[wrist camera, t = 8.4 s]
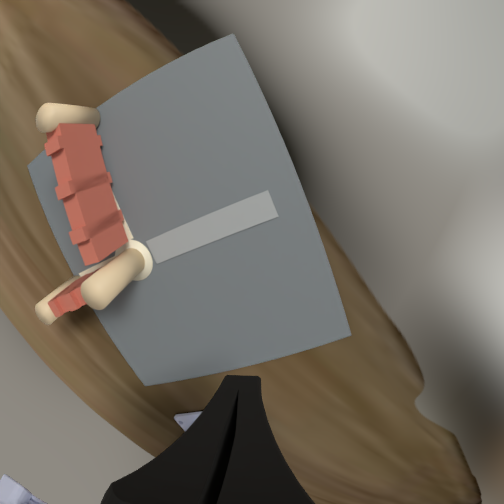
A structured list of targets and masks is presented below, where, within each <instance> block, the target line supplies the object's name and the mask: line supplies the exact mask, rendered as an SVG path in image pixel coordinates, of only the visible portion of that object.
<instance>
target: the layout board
mask: <svg viewBox="0 0 504 504" xmlns="http://www.w3.org/2000/svg"><path fill="white" fill-rule="evenodd" d="M96 109H97V110H98V111H99V113H100V122H99V125H98V126H97V128H96V132H97V135H100V136H101V140H102V144H103V146H100V149H101V153H102V157H103V160H104V164H105V168H106V171H107V172H110V175H111V178H112V183H110V186H111V189H112V192H113V196H114V199H115V202H116V205H117V208H118V210H120V209H121V211H122V214H123V218H124V220H123V221H122V224H123V227H124V230H125V233H126V236H127V238H128V242H127V243H125V244H124V245H122V246H121V247H120V248H118V249H117V250H115V251H114V252H112V253H111V254H110V255H108V256H107V257H105V258H104V259H103V260H101V261H100V262H97V263H94V264H90V265H86V266H85V264H84V261H83V258H82V256H81V253H80V251H79V248H78V245H77V244H74V245H73V244H72V241H71V238H70V235H69V232H70V231H72V228H71V225H70V222H69V219H68V216H67V213H66V210H65V206H64V203H63V200H62V199H61V200H58V198H57V194H56V191H55V187H57V186H58V182H57V178H56V174H55V170H54V166H53V162H52V158H51V156H47V155H46V150H44V151H43V152H42V153H41V154H39V155H38V156H37V157H36V158H35V159H34V160H33V161H32V162H31V163H30V164H29V165H28V169H29V172H30V175H31V178H32V181H33V184H34V187H35V189H36V192H37V195H38V197H39V200H40V202H41V205H42V208H43V210H44V212H45V215H46V217H47V220H48V222H49V224H50V227H51V229H52V231H53V233H54V236H55V238H56V240H57V242H58V244H59V246H60V249H61V251H62V253H63V255H64V257H65V259H66V261H67V263H68V265H69V267H70V269H71V271H72V273H73V275H74V276H75V275H78V276H80V277H82V276H84V275H86V274H89V273H91V272H94V271H95V270H97V269H98V268H100V267H103V266H104V265H106V264H107V263H108V262H110V261H111V260H112V259H114V258H115V257H116V256H118V255H119V254H120V253H122V252H123V251H124V250H126V249H128V248H134V249H137V250H138V251H139V252H141V254H142V255H143V257H144V260H145V267H144V269H143V270H142V271H141V272H140V273H139V274H138V275H137V276H136V277H135V278H134V279H133V280H132V281H131V282H130V283H129V284H128V285H127V286H126V287H125V288H124V289H123V290H122V291H121V292H120V293H119V294H118V295H117V296H116V297H115V298H114V299H113V300H112V301H111V302H110V303H109V304H108V305H107V306H106V307H105V308H104V309H102V310H96V309H93V308H92V309H93V310H94V312H95V314H96V315H97V317H98V318H99V320H100V322H101V323H102V325H103V327H104V328H105V330H106V331H107V333H108V334H109V336H110V337H111V339H112V340H113V342H114V343H115V345H116V346H117V348H118V349H119V351H120V352H121V354H122V355H123V357H124V358H125V359H126V361H127V362H128V364H129V365H130V366H131V368H132V369H133V371H134V372H135V373H136V375H137V376H138V377H139V379H140V380H141V381H142V383H143V384H144V385H145V386H149V385H156V384H162V383H168V382H174V381H180V380H185V379H190V378H196V377H201V376H206V375H210V374H215V373H220V372H224V371H229V370H233V369H237V368H242V367H246V366H250V365H254V364H258V363H262V362H266V361H269V360H273V359H277V358H280V357H284V356H287V355H291V354H294V353H298V352H301V351H305V350H308V349H311V348H314V347H318V346H321V345H324V344H327V343H330V342H333V341H336V340H339V339H342V338H345V337H348V336H351V332H350V329H349V325H348V322H347V318H346V315H345V312H344V308H343V305H342V302H341V298H340V295H339V292H338V289H337V286H336V282H335V279H334V276H333V273H332V270H331V267H330V264H329V261H328V258H327V255H326V252H325V249H324V246H323V243H322V241H321V238H320V235H319V232H318V229H317V226H316V224H315V221H314V218H313V215H312V213H311V210H310V207H309V204H308V202H307V199H306V196H305V194H304V191H303V189H302V186H301V184H300V181H299V178H298V176H297V173H296V171H295V168H294V166H293V163H292V161H291V158H290V156H289V154H288V151H287V148H286V146H285V144H284V141H283V139H282V136H281V134H280V132H279V129H278V127H277V125H276V123H275V120H274V118H273V116H272V113H271V111H270V109H269V107H268V104H267V102H266V100H265V98H264V95H263V93H262V91H261V89H260V87H259V85H258V82H257V80H256V79H255V76H254V74H253V72H252V70H251V68H250V66H249V64H248V61H247V59H246V57H245V55H244V53H243V51H242V49H241V47H240V45H239V43H238V41H237V40H236V37H235V36H234V34H231V35H228V36H226V37H223V38H221V39H219V40H217V41H214V42H212V43H209V44H207V45H205V46H203V47H200V48H198V49H196V50H194V51H192V52H190V53H188V54H186V55H184V56H182V57H180V58H178V59H176V60H174V61H172V62H170V63H168V64H166V65H165V66H163V67H161V68H159V69H157V70H155V71H154V72H152V73H150V74H148V75H147V76H145V77H143V78H142V79H140V80H138V81H137V82H135V83H133V84H132V85H130V86H129V87H127V88H125V89H124V90H122V91H121V92H119V93H118V94H116V95H115V96H113V97H112V98H110V99H109V100H107V101H106V102H104V103H103V104H102V105H100V106H99V107H97V108H96Z"/></svg>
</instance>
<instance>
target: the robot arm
mask: <svg viewBox="0 0 504 504" xmlns="http://www.w3.org/2000/svg"><path fill="white" fill-rule="evenodd" d="M174 419H175V421H176V422H177V423H178V424H179V425H180V426H181V427H182V428H183V430H184V431H185V432H184V433H183V434H182V435H181V436H180V437H179V438H178V439H177V440H176V441H175V442H174V443H173V444H172V445H171V446H169V447H168V448H167V449H166V450H165V451H164V452H162V453H161V454H160V455H158V456H157V457H156V458H154V459H153V460H152V461H150V462H149V463H147V464H146V465H144V466H142V467H141V468H139V469H138V470H136V471H134V472H133V473H131V474H129V475H127V476H125V477H123V478H121V479H119V480H117V481H115V482H113V483H111V485H110V486H109V488H108V490H107V491H106V493H105V495H104V497H103V499H102V501H101V504H315V503H314V502H313V500H312V499H311V498H310V497H309V495H308V494H307V493H306V492H305V490H304V489H303V488H302V486H301V485H300V483H299V482H298V480H297V479H296V477H295V476H294V474H293V472H292V471H291V469H290V468H289V466H288V464H287V463H286V461H285V459H284V457H283V455H282V453H281V451H280V449H279V447H278V445H277V443H276V441H275V438H274V436H273V433H272V431H271V428H270V425H269V423H268V420H267V416H266V413H265V409H264V406H263V401H262V396H261V378H260V377H258V376H238V375H227V376H225V378H224V379H223V381H222V383H221V385H220V387H219V388H218V390H217V391H216V393H215V395H214V396H213V398H212V399H211V400H210V402H209V403H208V405H207V406H206V407H205V409H204V410H203V411H200V412H192V413H184V414H176V415H175V416H174ZM0 504H47V503H45V502H44V501H42V500H40V499H39V498H37V497H35V496H34V495H32V494H31V493H30V492H29V491H28V490H27V489H26V488H25V487H23V486H22V485H21V484H19V483H18V482H16V481H15V480H14V479H12V478H11V477H9V476H8V475H6V474H4V475H3V477H2V478H1V480H0Z"/></svg>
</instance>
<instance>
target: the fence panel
mask: <svg viewBox="0 0 504 504" xmlns="http://www.w3.org/2000/svg"><path fill="white" fill-rule="evenodd" d="M99 122H100V113H99V111H98V110H97V109H96V108H91V107H83V106H75V105H66V104H56V103H45V104H44V105H42V106H41V107H40V109H39V111H38V113H37V116H36V126H37V129H38V130H39V131H40V132H46V134H47V139H48V142H47V143H45V144H44V145H45V150H46V155H47V156H51V158H52V162H53V166H54V170H55V174H56V178H57V182H58V186H57V187H55V191H56V194H57V198H58V200H61V199H62V200H63V203H64V206H65V210H66V213H67V216H68V219H69V222H70V225H71V228H72V231H70V232H69V235H70V238H71V241H72V244H73V245H74V244H77V245H78V248H79V251H80V253H81V256H82V258H83V261H84V264H85V266H86V265H90V264H94V263H97V262H100V261H101V260H103V259H104V258H105V257H107V256H108V255H110V254H111V253H112V252H114V251H115V250H117V249H118V248H120V247H121V246H122V245H124V244H125V243H127V242H128V238H127V236H126V233H125V230H124V227H123V224H122V221H123V220H124V218H123V214H122V211H121V209H120V210H118V208H117V205H116V202H115V199H114V196H113V192H112V189H111V186H110V183H112V178H111V175H110V172H107V171H106V168H105V164H104V160H103V157H102V153H101V149H100V146H103V144H102V140H101V136H100V135H97V132H96V128H97V126H98V125H99Z"/></svg>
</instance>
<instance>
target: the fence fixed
mask: <svg viewBox="0 0 504 504" xmlns="http://www.w3.org/2000/svg"><path fill="white" fill-rule="evenodd" d="M144 267H145V260H144V257H143V255H142V254H141V252H139V251H138V250H137V249H134V248H128V249H126V250H124V251H123V252H122V253H120V254H119V255H118V256H116V257H115V258H114V259H112V260H111V261H110V262H108V263H107V264H106V265H104V266H103V267H100V268H98V269H97V270H95V271H94V272H91V273H89V274H86V275H84V276H82V277H80V276H78V275H75V276H73V277H72V278H70V279H69V280H68V281H66V282H65V283H64V284H62V285H61V286H60V287H58V288H57V289H56V290H54V291H53V292H52V293H50V294H49V295H48V296H46V297H45V298H44V299H43V300H41V301H40V302H39V303H38V304H36V306H35V311H36V314H37V316H38V318H39V319H40V321H41V322H43V323H44V324H46V325H50V324H51V323H52V322H54V321H55V320H56V319H57V318H58V317H59V316H61V315H63V314H64V313H65V312H68V311H70V310H71V312H72V311H74V310H77V309H79V308H80V307H81V306H83V305H85V304H87V305H89V306H90V307H91V308H93V309H96V310H102V309H104V308H105V307H106V306H107V305H108V304H109V303H110V302H111V301H112V300H113V299H114V298H115V297H116V296H117V295H118V294H119V293H120V292H121V291H122V290H123V289H124V288H125V287H126V286H127V285H128V284H129V283H130V282H131V281H132V280H133V279H134V278H135V277H136V276H137V275H138V274H139V273H140V272H141V271H142V270H143V269H144Z"/></svg>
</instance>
